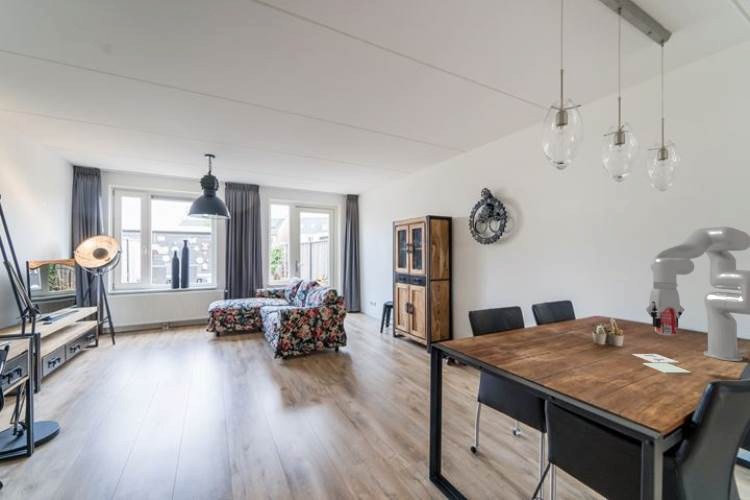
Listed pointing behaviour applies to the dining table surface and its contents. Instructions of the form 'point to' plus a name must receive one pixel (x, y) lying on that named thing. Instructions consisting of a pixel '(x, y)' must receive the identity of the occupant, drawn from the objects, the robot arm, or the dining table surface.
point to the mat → (666, 368)
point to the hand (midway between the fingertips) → (665, 326)
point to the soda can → (667, 322)
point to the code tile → (655, 358)
